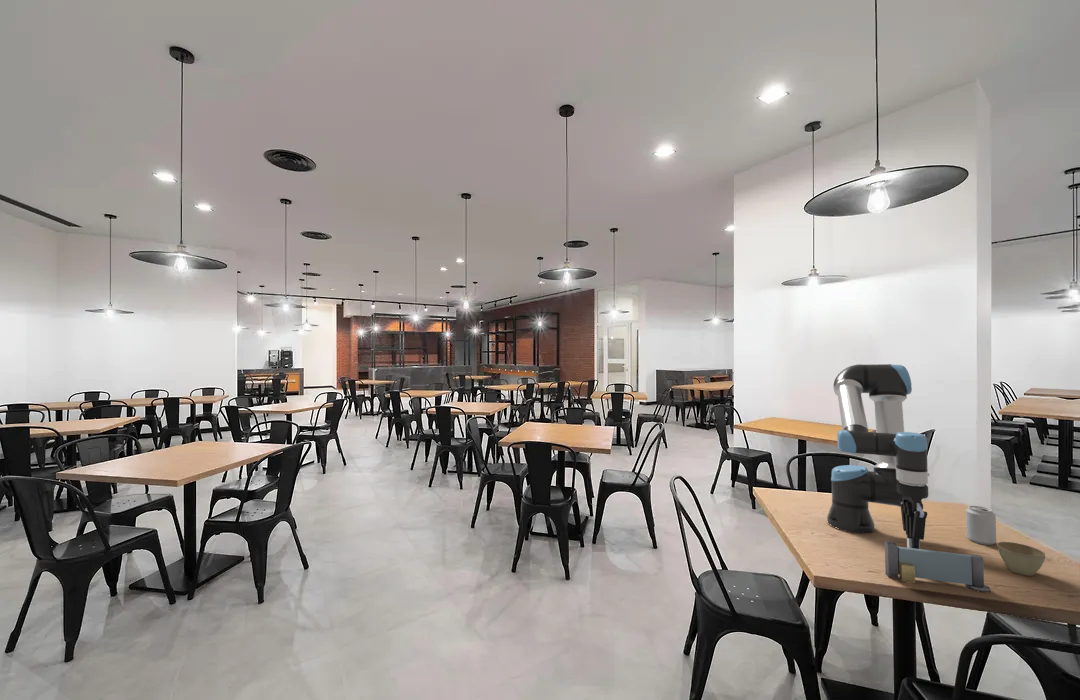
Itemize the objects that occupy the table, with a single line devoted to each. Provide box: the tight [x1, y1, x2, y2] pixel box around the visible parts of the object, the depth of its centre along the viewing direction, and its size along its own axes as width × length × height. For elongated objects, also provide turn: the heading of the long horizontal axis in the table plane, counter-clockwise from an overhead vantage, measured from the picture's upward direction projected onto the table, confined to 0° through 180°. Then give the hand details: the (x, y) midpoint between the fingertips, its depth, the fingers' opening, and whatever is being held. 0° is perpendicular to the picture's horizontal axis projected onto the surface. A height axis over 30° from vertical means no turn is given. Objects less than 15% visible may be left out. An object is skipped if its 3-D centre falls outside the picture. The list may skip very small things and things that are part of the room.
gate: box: [898, 546, 985, 587], centre depth 127 cm, size 20×3×8 cm, turn 70°
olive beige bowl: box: [996, 541, 1046, 577], centre depth 133 cm, size 10×10×7 cm
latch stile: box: [884, 540, 916, 584], centre depth 129 cm, size 6×4×10 cm
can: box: [965, 505, 997, 546], centre depth 155 cm, size 8×8×12 cm
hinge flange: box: [964, 584, 991, 593], centre depth 124 cm, size 5×5×1 cm
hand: (913, 558), depth 135 cm, fingers closed
